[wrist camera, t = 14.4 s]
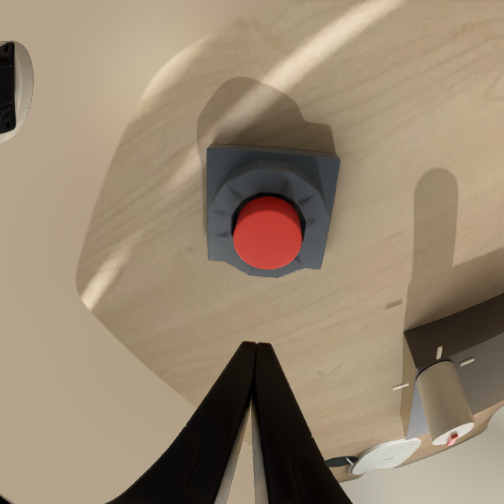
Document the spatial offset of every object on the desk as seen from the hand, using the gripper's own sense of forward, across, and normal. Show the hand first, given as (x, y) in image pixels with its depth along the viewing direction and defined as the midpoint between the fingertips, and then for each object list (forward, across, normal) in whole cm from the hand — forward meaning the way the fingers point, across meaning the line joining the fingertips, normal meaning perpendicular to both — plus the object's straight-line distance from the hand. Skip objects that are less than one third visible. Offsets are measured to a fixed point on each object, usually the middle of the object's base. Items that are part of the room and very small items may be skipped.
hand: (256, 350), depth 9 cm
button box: (+11, 0, 0) cm, 11 cm away
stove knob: (+7, -15, +11) cm, 20 cm away
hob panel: (+11, -22, +15) cm, 28 cm away
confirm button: (+8, 0, 0) cm, 8 cm away
